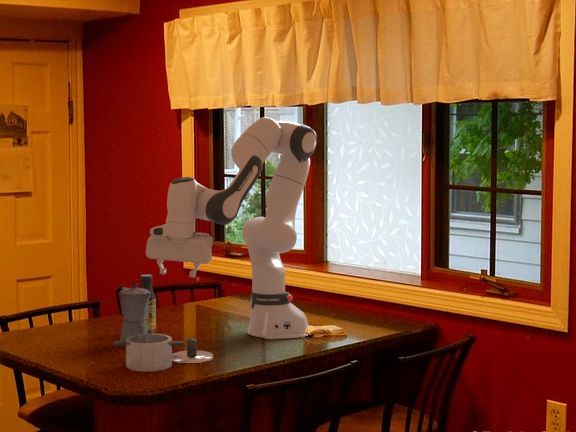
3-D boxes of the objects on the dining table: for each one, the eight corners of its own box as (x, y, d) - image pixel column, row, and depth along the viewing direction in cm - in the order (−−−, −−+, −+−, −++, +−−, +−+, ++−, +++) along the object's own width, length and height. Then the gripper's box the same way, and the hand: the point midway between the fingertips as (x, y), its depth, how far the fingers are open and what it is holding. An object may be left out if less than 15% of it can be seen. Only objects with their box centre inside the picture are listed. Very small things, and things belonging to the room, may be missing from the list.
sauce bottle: (152, 336, 313) (151, 277, 311) (134, 335, 314) (133, 276, 312) (158, 332, 319) (158, 274, 317) (141, 331, 320) (140, 273, 318)
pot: (184, 359, 283) (184, 333, 282) (182, 371, 270) (181, 343, 269) (117, 360, 282) (117, 333, 281) (111, 371, 269) (111, 344, 268)
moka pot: (141, 350, 294) (140, 286, 292) (104, 343, 303) (103, 282, 300) (160, 343, 302) (160, 282, 300) (124, 337, 311) (123, 278, 309)
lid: (214, 354, 291) (214, 334, 291) (212, 365, 278) (212, 344, 278) (171, 354, 291) (171, 334, 290) (168, 365, 278) (168, 344, 277)
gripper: (216, 232, 287) (213, 277, 288) (152, 226, 291) (150, 270, 293) (209, 235, 281) (207, 280, 282) (145, 228, 285) (142, 273, 286)
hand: (177, 275), depth 287 cm, fingers open, 8 cm apart
